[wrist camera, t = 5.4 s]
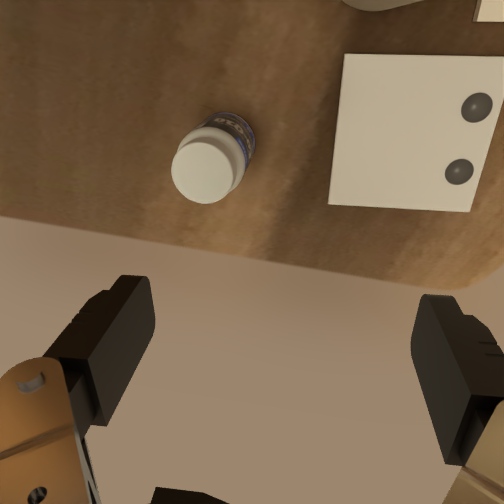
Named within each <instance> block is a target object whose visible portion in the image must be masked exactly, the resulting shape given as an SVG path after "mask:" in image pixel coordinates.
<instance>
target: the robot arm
mask: <svg viewBox="0 0 504 504" xmlns="http://www.w3.org/2000/svg"><path fill="white" fill-rule="evenodd" d="M154 329H155V313H154V306H153V300H152V294H151V287H150V282H149V279H148V278H147V277H146V276H134V275H121V276H120V277H119V278H118V279H117V280H116V282H115V283H114V284H113V286H112V287H111V288H110V290H102V291H101V292H99V293H98V294H96V295H95V296H93V297H92V298H90V299H89V300H88V301H87V302H86V303H85V305H84V306H83V307H82V308H81V310H80V311H79V313H78V314H77V315H76V316H75V317H74V318H73V319H72V322H71V323H69V324H68V326H67V327H66V328H65V329H64V330H63V332H62V333H61V334H60V335H59V337H58V338H57V339H56V340H55V341H54V343H53V344H52V345H51V347H50V348H49V349H48V350H47V351H46V353H45V354H44V355H43V356H42V357H39V358H33V359H29V360H26V361H24V362H21V363H19V364H17V365H16V366H14V367H12V368H11V369H10V370H8V371H7V372H6V373H5V374H4V375H3V376H2V377H1V378H0V504H102V503H101V500H100V496H99V491H98V487H97V483H96V479H95V475H94V471H93V467H92V462H91V458H90V454H89V450H88V446H87V442H86V439H85V434H86V433H87V431H88V429H89V427H90V425H97V426H107V425H108V423H109V421H110V419H111V417H112V415H113V413H114V411H115V409H116V407H117V405H118V403H119V401H120V399H121V397H122V395H123V393H124V391H125V389H126V387H127V386H128V384H129V382H130V380H131V378H132V376H133V374H134V371H135V370H136V368H137V366H138V364H139V362H140V360H141V358H142V356H143V354H144V352H145V350H146V348H147V346H148V344H149V342H150V340H151V338H152V336H153V333H154ZM411 356H412V360H413V363H414V366H415V369H416V373H417V376H418V379H419V382H420V385H421V389H422V391H423V395H424V398H425V401H426V404H427V407H428V411H429V414H430V417H431V420H432V423H433V427H434V430H435V433H436V436H437V439H438V443H439V445H440V449H441V452H442V455H443V458H444V462H445V464H449V465H458V466H463V467H462V468H461V470H460V472H459V473H458V475H457V477H456V479H455V481H454V483H453V484H452V487H451V488H450V490H449V492H448V494H447V496H446V498H445V499H444V501H443V503H442V504H504V354H503V352H502V350H501V348H500V347H499V346H498V345H497V342H496V340H495V338H494V337H493V335H492V333H491V332H490V330H489V329H488V327H486V326H485V325H484V324H483V323H481V322H480V321H479V320H478V319H477V318H475V317H474V316H473V315H464V314H463V313H462V311H461V309H460V307H459V305H458V303H457V302H456V300H455V298H454V297H453V296H446V295H445V296H444V295H430V294H424V295H423V296H422V297H421V299H420V303H419V307H418V311H417V315H416V320H415V324H414V328H413V332H412V337H411ZM150 504H229V503H226V502H224V501H222V500H219V499H217V498H214V497H212V496H210V495H208V494H205V493H202V492H194V491H186V490H177V489H169V488H162V487H161V488H160V487H156V488H155V491H154V494H153V497H152V500H151V503H150Z"/></svg>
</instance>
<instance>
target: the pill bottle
mask: <svg viewBox="0 0 504 504" xmlns="http://www.w3.org/2000/svg"><path fill="white" fill-rule="evenodd" d="M254 150H255V138H254V134H253V132H252V130H251V128H250V126H249V125H248V124H247V123H246V122H245V121H244V120H243V119H242V118H241V117H239V116H237V115H235V114H232V113H226V112H223V113H217V114H214V115H212V116H210V117H208V118H207V119H205V120H204V121H203V122H202V123H201V124H199V125H198V126H197V127H196V128H194V129H193V130H192V131H191V132H190V133H188V134H187V135H186V136H185V137H184V139H183V140H182V141H181V143H180V145H179V147H178V150H177V153H176V155H175V156H174V158H173V162H172V167H171V173H172V178H173V181H174V183H175V185H176V187H177V188H178V190H179V191H180V192H181V193H182V194H183V195H184V196H185V197H186V198H188V199H190V200H192V201H194V202H197V203H203V204H209V203H214V202H217V201H219V200H221V199H222V198H223V197H225V196H226V195H227V193H229V192H231V191H232V190H233V189H235V188H236V187H237V186H238V184H239V183H240V182H241V180H242V178H243V176H244V174H245V171H246V169H247V167H248V165H249V163H250V161H251V159H252V156H253V154H254Z"/></svg>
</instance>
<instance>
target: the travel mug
mask: <svg viewBox="0 0 504 504" xmlns="http://www.w3.org/2000/svg"><path fill="white" fill-rule="evenodd" d="M341 1H343V2H344V3H346V4H347V5H349V6H351V7H354V8H356V9H360V10H364V11H382V10H387V9H391V8H395V7H399V6H403V5H407V4H411V3H415V2H418V1H422V0H341Z"/></svg>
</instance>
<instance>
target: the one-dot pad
mask: <svg viewBox="0 0 504 504" xmlns="http://www.w3.org/2000/svg"><path fill="white" fill-rule="evenodd" d="M472 22H504V0H477V4H476V9H475V13H474V17H473V21H472Z"/></svg>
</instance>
